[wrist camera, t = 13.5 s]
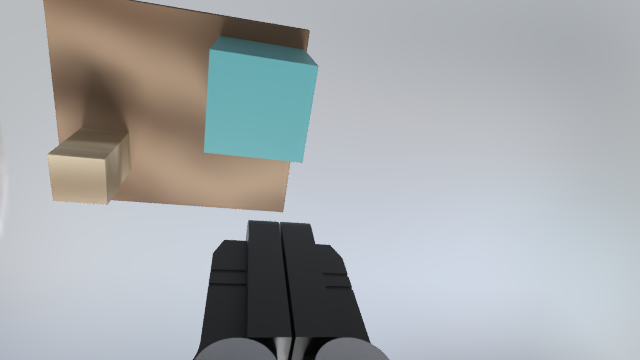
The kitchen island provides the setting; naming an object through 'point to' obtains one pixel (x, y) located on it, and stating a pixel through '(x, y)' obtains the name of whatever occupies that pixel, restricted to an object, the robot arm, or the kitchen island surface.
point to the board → (149, 106)
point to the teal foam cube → (258, 100)
